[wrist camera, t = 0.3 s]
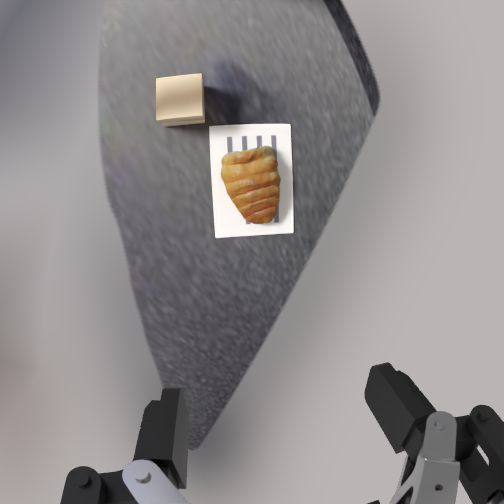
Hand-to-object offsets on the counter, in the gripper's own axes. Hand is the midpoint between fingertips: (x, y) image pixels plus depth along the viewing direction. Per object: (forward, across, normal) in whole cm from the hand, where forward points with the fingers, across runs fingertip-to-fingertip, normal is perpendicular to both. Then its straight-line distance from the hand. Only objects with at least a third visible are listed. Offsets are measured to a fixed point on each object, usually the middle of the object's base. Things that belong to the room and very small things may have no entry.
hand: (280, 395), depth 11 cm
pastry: (+27, -2, -7) cm, 28 cm away
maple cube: (+28, +6, -17) cm, 33 cm away
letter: (+27, -2, -7) cm, 28 cm away
